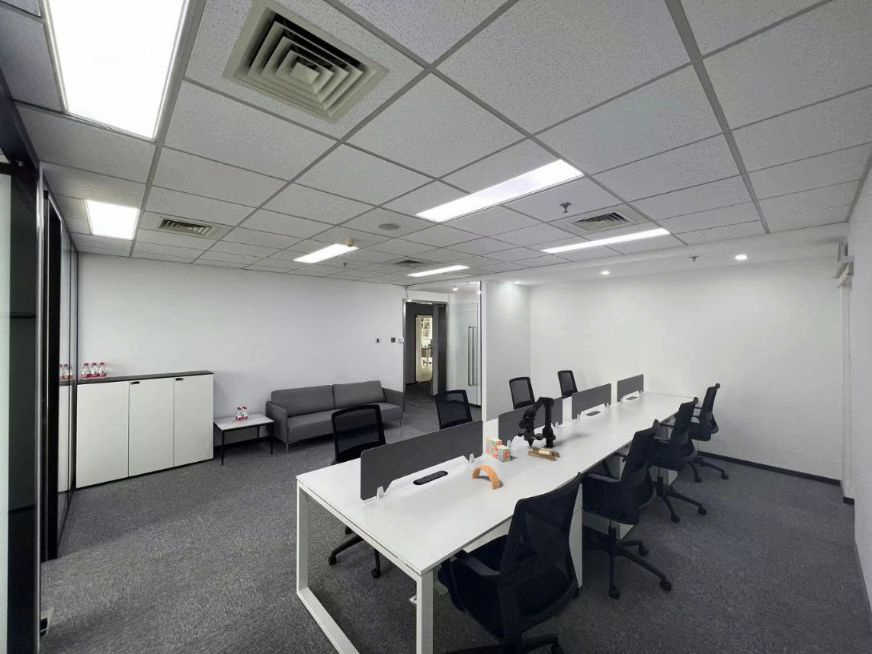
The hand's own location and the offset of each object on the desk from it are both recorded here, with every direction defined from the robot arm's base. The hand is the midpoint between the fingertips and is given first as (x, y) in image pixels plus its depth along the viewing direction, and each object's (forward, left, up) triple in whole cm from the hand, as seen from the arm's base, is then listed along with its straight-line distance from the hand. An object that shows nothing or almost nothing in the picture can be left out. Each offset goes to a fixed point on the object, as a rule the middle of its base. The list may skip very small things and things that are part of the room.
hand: (530, 447), depth 266 cm
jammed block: (0, +12, -5) cm, 13 cm away
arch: (+66, -2, -5) cm, 66 cm away
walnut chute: (0, +10, -5) cm, 11 cm away
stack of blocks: (+21, -17, -5) cm, 28 cm away
